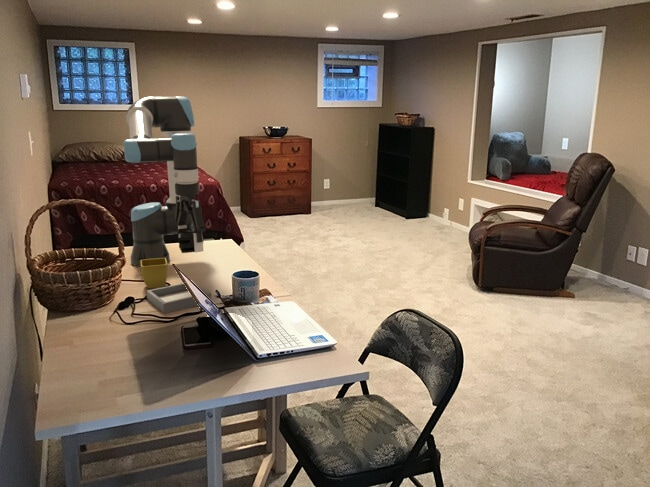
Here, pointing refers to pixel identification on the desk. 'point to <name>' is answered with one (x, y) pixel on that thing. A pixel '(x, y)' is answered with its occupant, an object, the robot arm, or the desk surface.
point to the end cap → (186, 240)
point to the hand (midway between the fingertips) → (191, 248)
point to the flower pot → (154, 272)
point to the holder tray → (173, 297)
